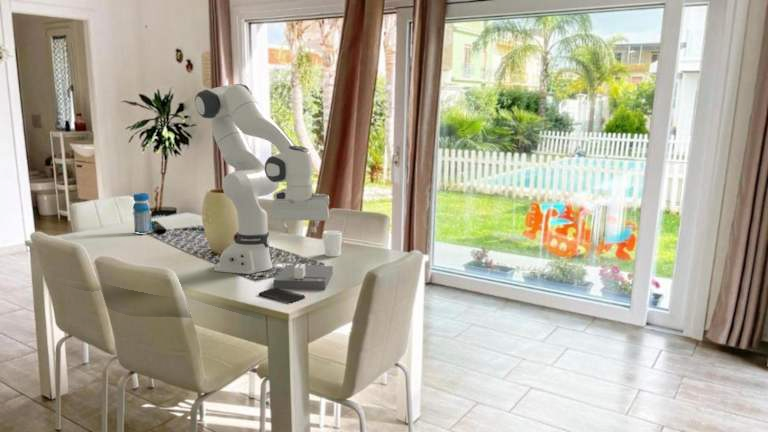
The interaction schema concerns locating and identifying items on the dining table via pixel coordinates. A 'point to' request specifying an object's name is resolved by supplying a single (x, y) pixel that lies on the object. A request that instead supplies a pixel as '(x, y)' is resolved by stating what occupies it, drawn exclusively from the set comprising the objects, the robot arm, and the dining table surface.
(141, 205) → the beverage bottle
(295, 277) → the fader knob
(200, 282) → the dining table surface
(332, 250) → the white cup
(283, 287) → the mixer panel
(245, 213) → the robot arm
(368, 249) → the dining table surface
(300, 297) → the phone
